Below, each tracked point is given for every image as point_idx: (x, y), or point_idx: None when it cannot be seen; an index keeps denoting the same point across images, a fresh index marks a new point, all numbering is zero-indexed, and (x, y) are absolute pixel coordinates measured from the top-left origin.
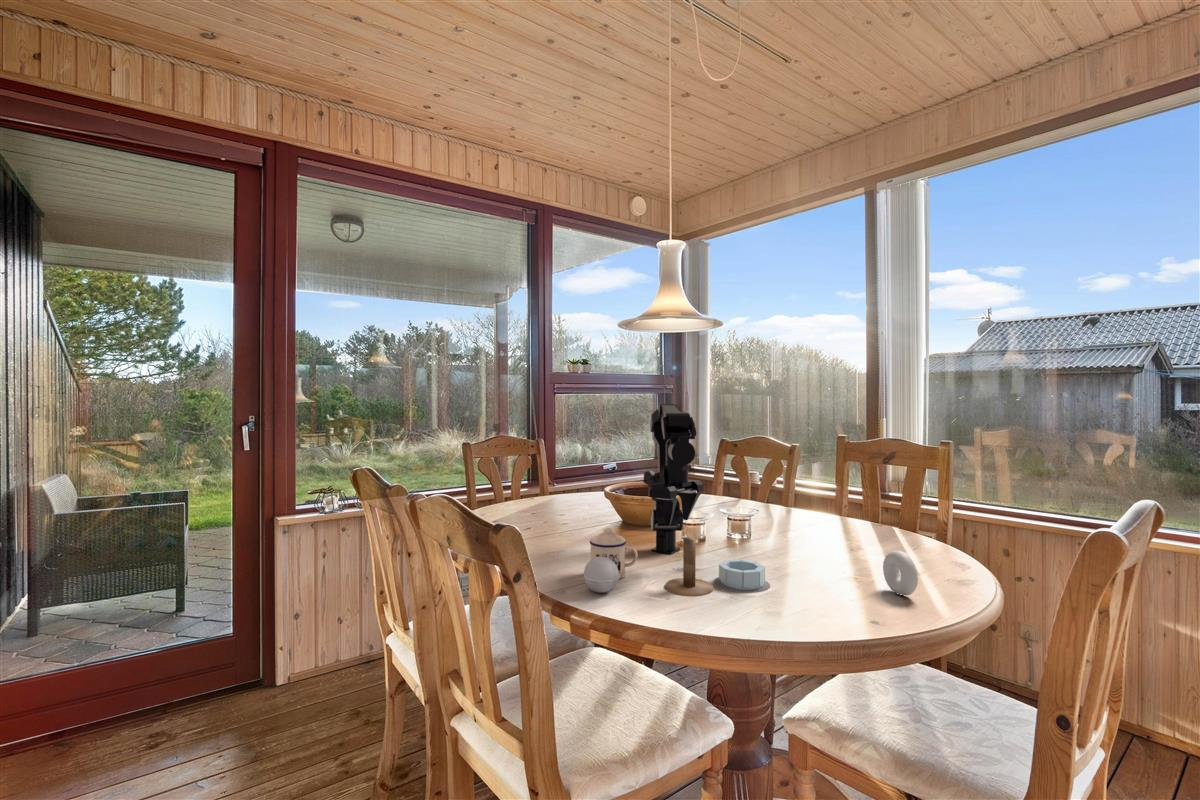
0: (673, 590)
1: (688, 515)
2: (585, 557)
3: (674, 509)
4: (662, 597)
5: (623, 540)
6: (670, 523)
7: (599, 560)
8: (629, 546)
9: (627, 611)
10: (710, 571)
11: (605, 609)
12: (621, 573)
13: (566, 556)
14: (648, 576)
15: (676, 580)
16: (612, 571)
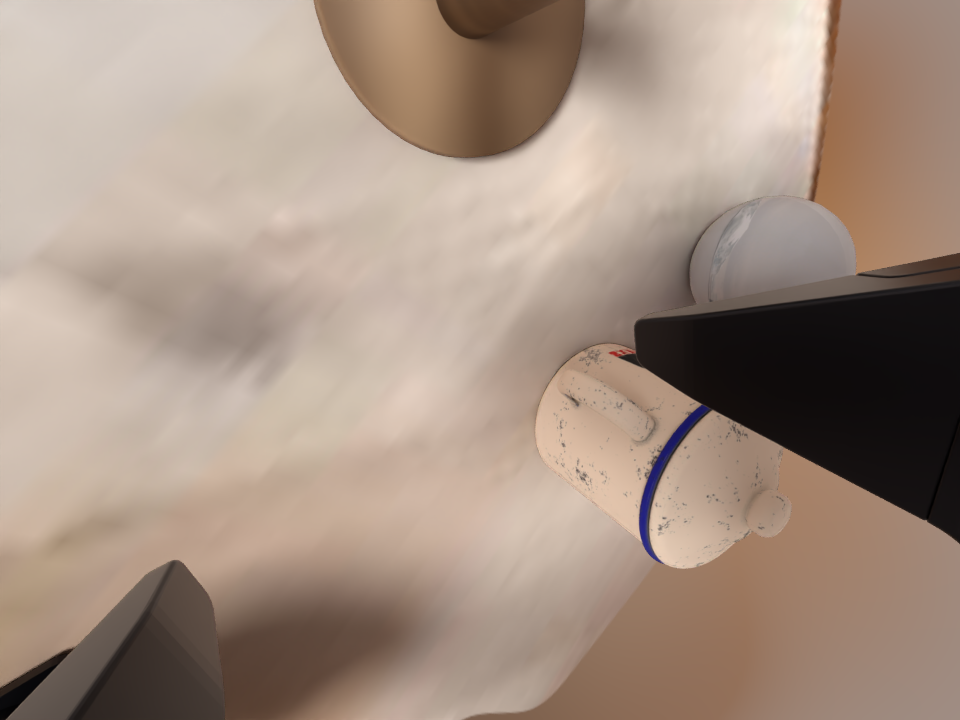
0: (581, 12)
1: (154, 602)
2: (511, 640)
3: (913, 282)
4: (623, 32)
5: (712, 428)
6: (661, 314)
7: (855, 260)
8: (636, 428)
9: (777, 28)
10: (12, 174)
11: (792, 104)
12: (598, 354)
13: (551, 657)
14: (479, 321)
15: (464, 125)
16: (806, 203)
